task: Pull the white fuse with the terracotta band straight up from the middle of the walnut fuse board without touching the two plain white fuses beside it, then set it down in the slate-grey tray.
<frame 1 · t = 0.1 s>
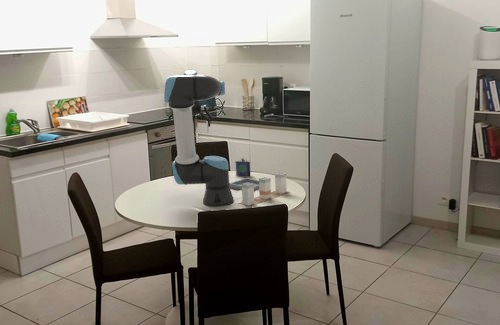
hand: (196, 131, 291), 28 cm above the table, tool tilted 20°, fingers open, 13 cm apart
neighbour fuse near: (248, 203, 246), point 1 cm above the table, touching fuse board
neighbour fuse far: (281, 192, 262), point 1 cm above the table, touching fuse board
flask: (243, 176, 301), on the table
tray: (248, 187, 276), on the table
fuse board: (265, 199, 254), on the table
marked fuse: (265, 197, 254), point 1 cm above the table, touching fuse board
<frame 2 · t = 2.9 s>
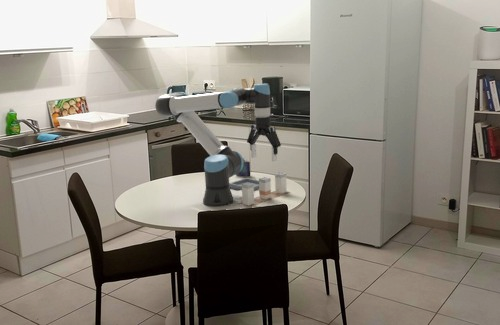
hand: (264, 159, 249), 21 cm above the table, tool pointing down, fingers open, 13 cm apart
nothing on the table moved.
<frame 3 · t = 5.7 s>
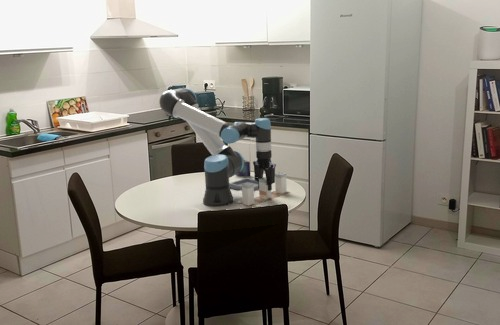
hand: (265, 195, 254), 2 cm above the table, tool pointing down, fingers closed on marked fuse, 4 cm apart
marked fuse: (265, 197, 254), point 1 cm above the table, touching fuse board, gripper
everything else where it was.
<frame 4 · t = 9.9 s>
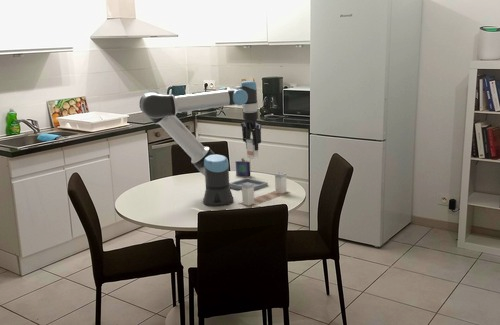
hand: (252, 155, 266), 19 cm above the table, tool pointing down, fingers closed on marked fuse, 4 cm apart
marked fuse: (252, 157, 266), point 18 cm above the table, touching gripper
everything else where it was.
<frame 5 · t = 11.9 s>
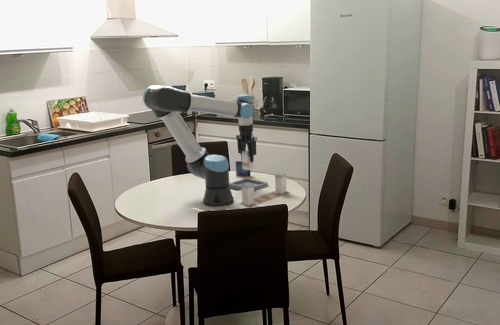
hand: (247, 166, 273), 11 cm above the table, tool pointing down, fingers closed on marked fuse, 4 cm apart
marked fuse: (247, 168, 274), point 10 cm above the table, touching gripper
everything else where it was.
when the fingers open (4 cm above the table, at t = 13.9 s): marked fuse drops 2 cm, resting on tray.
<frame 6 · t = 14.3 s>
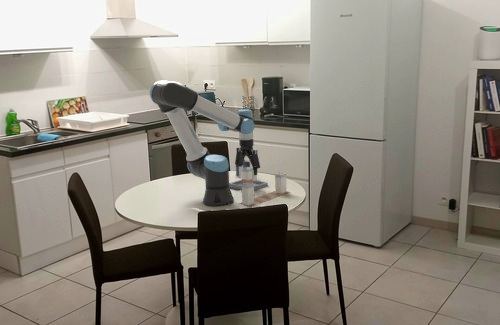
hand: (247, 179, 275), 5 cm above the table, tool pointing down, fingers open, 9 cm apart
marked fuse: (248, 185, 276), point 1 cm above the table, touching tray
everything else where it was.
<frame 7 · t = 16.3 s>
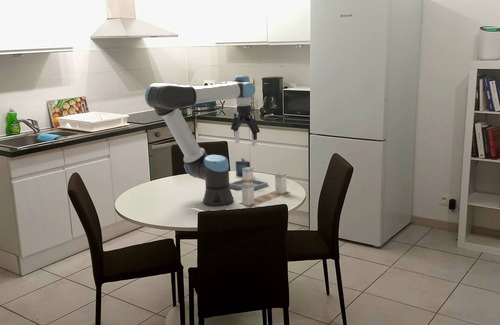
hand: (245, 144, 274), 23 cm above the table, tool pointing down, fingers open, 13 cm apart
nothing on the table moved.
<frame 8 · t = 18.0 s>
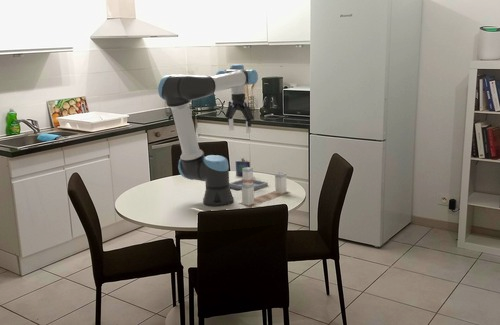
hand: (239, 131, 282), 29 cm above the table, tool pointing down, fingers open, 13 cm apart
nothing on the table moved.
at the end: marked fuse inside the target area on the tray (0.1 cm from its centre), point 0.8 cm above the tray's base; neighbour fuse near moved 0.0 cm from its start; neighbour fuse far moved 0.0 cm from its start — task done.
